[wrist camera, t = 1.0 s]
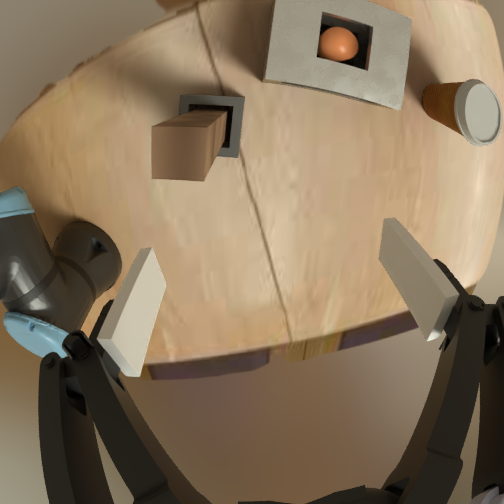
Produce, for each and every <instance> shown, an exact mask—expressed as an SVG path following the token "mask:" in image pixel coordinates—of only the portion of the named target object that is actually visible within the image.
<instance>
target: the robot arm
mask: <svg viewBox="0 0 504 504" xmlns="http://www.w3.org/2000/svg"><path fill="white" fill-rule="evenodd" d="M379 260H380V262H381V263H382V265H383V266H384V268H385V269H386V271H387V273H388V274H389V276H390V277H391V279H392V281H393V282H394V284H395V286H396V287H397V289H398V291H399V292H400V294H401V296H402V298H403V299H404V301H405V303H406V304H407V306H408V308H409V310H410V312H411V313H412V315H413V317H414V319H415V321H416V322H417V324H418V326H419V328H420V330H421V332H422V334H423V335H424V338H425V339H426V341H430V340H433V339H436V338H439V337H440V335H441V333H442V331H443V329H444V331H445V332H446V334H447V335H446V337H445V339H444V341H443V342H442V344H441V346H440V348H439V350H441V348H442V351H441V355H440V358H439V363H438V366H437V369H436V373H435V376H434V379H433V383H432V386H431V388H430V392H429V394H428V397H427V400H426V403H425V406H424V408H423V411H422V413H421V416H420V418H419V421H418V423H417V426H416V428H415V430H414V433H413V435H412V437H411V439H410V442H409V444H408V446H407V448H406V450H405V452H404V454H403V456H402V458H401V460H400V462H399V463H398V465H397V467H396V468H395V469H394V470H393V472H392V473H391V474H390V475H389V477H388V478H387V480H386V482H385V483H384V485H383V486H382V488H381V489H377V488H365V485H363V486H360V487H356V488H352V489H347V490H343V491H338V492H334V493H332V494H330V495H328V496H325V497H323V498H320V499H317V500H315V501H312V502H309V503H307V504H447V502H448V500H449V498H450V496H451V494H452V492H453V489H454V487H455V485H456V482H457V480H458V478H459V475H460V473H461V470H462V467H463V461H462V460H461V458H460V454H461V451H462V448H463V445H464V442H465V439H466V436H467V432H468V429H469V426H470V422H471V418H472V414H473V411H474V406H475V402H476V397H477V393H478V388H479V382H480V423H479V438H478V448H477V457H476V464H475V470H474V476H473V483H472V500H471V501H470V503H469V504H504V296H501V297H499V298H498V300H497V302H496V304H485V303H484V301H483V300H482V299H481V298H479V297H477V296H475V295H468V293H467V292H466V291H465V289H464V288H463V287H462V285H461V284H460V283H459V281H458V280H457V279H456V278H455V277H454V275H453V274H452V273H451V272H450V270H449V269H448V268H447V266H446V265H445V264H444V263H442V262H441V261H439V260H438V259H434V260H432V258H431V257H430V256H429V255H428V254H427V252H426V251H425V250H424V249H423V248H422V247H421V245H420V244H419V243H418V242H417V241H416V240H415V239H414V237H413V236H412V235H411V234H410V233H409V232H408V231H407V230H406V229H405V228H404V226H403V225H402V224H401V223H400V222H399V221H398V220H397V219H396V218H387V219H384V223H383V231H382V239H381V246H380V253H379ZM121 269H122V261H121V257H120V253H119V251H118V249H117V247H116V245H115V244H114V242H113V241H112V239H111V238H110V237H109V236H108V235H107V234H106V233H105V232H104V231H102V230H101V229H100V228H98V227H96V226H94V225H92V224H90V223H86V222H74V223H71V224H69V225H67V226H66V227H65V228H64V229H63V230H62V231H61V232H60V233H59V235H58V236H57V238H56V241H55V244H54V247H53V249H52V251H51V249H50V247H49V244H48V242H47V240H46V238H45V236H44V234H43V231H42V229H41V227H40V224H39V222H38V219H37V217H36V214H35V210H34V209H33V208H32V206H31V203H30V201H29V199H28V196H27V194H26V192H25V190H24V189H23V188H21V187H12V188H10V189H8V190H6V191H4V192H2V193H0V300H1V302H2V303H3V305H4V306H5V308H6V309H7V312H6V313H5V315H4V319H3V322H4V325H5V328H6V329H7V331H8V332H9V334H10V335H11V336H12V337H13V338H14V339H15V340H16V341H17V342H18V343H19V344H21V345H22V346H23V347H25V348H26V349H28V350H29V351H31V352H33V353H34V354H36V355H38V356H41V357H43V359H42V361H41V364H40V374H39V375H40V376H39V397H38V398H39V400H38V404H39V405H38V409H39V410H38V412H39V437H40V448H41V458H42V466H43V472H44V478H45V485H46V489H47V495H48V499H49V504H114V502H113V499H112V496H111V493H110V490H109V487H108V483H107V480H106V476H105V473H104V469H103V465H102V462H101V457H100V453H99V448H98V444H97V439H96V434H95V429H94V423H95V426H96V428H97V430H98V432H99V435H100V436H101V439H102V441H103V443H104V445H105V447H106V449H107V451H108V453H109V455H110V457H111V459H112V461H113V463H114V464H115V466H116V468H117V470H118V472H119V473H120V475H121V477H122V479H123V480H124V482H125V484H126V485H127V487H128V488H129V490H130V492H131V493H132V495H133V497H134V502H133V504H212V503H211V502H210V501H209V500H207V499H206V498H205V497H204V496H203V495H202V494H200V493H199V492H198V491H197V490H196V489H195V488H194V487H193V486H192V485H191V483H190V482H189V481H188V480H187V479H186V477H185V476H184V475H183V474H182V472H181V471H180V470H179V469H178V467H177V466H176V465H175V463H174V462H173V461H172V459H171V458H170V457H169V455H168V454H167V453H166V451H165V450H164V449H163V447H162V446H161V444H160V443H159V441H158V440H157V438H156V437H155V435H154V434H153V432H152V431H151V429H150V428H149V426H148V425H147V423H146V421H145V420H144V418H143V417H142V415H141V413H140V412H139V410H138V408H137V407H136V405H135V403H134V402H133V400H132V398H131V396H130V395H129V393H128V391H127V389H126V387H125V385H124V383H123V382H122V380H121V378H120V377H119V376H118V374H119V372H120V369H121V371H122V372H123V373H124V374H125V375H126V376H135V377H140V374H141V370H142V366H143V362H144V359H145V355H146V351H147V348H148V344H149V341H150V337H151V334H152V330H153V327H154V324H155V320H156V317H157V314H158V310H159V307H160V304H161V301H162V298H163V295H164V292H165V289H166V286H167V284H166V282H165V279H164V277H163V274H162V272H161V269H160V267H159V264H158V261H157V259H156V256H155V253H154V251H153V248H152V247H151V248H145V249H140V251H139V253H138V255H137V257H136V258H135V260H134V262H133V264H132V266H131V268H130V270H129V272H128V274H127V276H126V278H125V279H124V281H123V283H122V285H121V287H120V289H119V291H118V293H117V296H116V298H115V299H114V300H109V301H108V302H107V304H106V305H105V306H104V307H103V309H102V311H101V313H100V316H99V317H98V319H97V322H96V323H95V326H94V328H93V330H92V332H91V334H90V337H89V339H88V337H87V336H86V335H85V333H84V332H83V331H81V330H80V329H81V327H82V325H83V323H84V321H85V319H86V317H87V315H88V313H89V311H90V309H91V307H92V305H93V304H94V302H95V300H96V299H97V298H98V297H100V296H101V295H102V294H103V293H104V292H105V291H107V290H109V289H110V288H111V287H112V286H113V285H114V284H115V283H116V281H117V279H118V277H119V276H120V273H121ZM66 355H68V357H65V356H66ZM93 421H94V423H93ZM238 504H290V503H281V502H274V501H254V502H238Z"/></svg>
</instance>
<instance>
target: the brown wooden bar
mask: <svg viewBox="0 0 504 504" xmlns="http://www.w3.org/2000/svg"><path fill="white" fill-rule="evenodd" d="M228 114H229V110H226V109H208V108H199V109H196V110H194V111H191V112H188V113H185V114H182V115H180V116H177V117H175V118H172V119H169V120H167V121H164V122H162V123H159V124H157V125H155V126H152V179H170V180H189V181H204V180H205V178H206V176H207V174H208V172H209V170H210V168H211V166H212V164H213V162H214V160H215V158H216V156H217V154H218V152H219V150H220V148H221V146H222V144H223V142H224V140H225V138H226V135H227V124H228Z"/></svg>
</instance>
